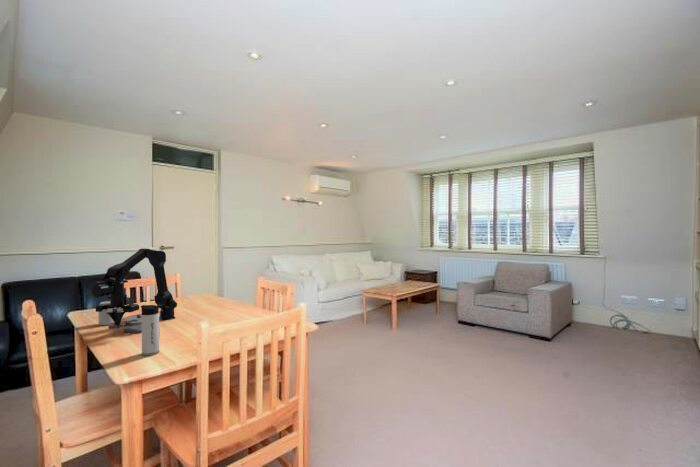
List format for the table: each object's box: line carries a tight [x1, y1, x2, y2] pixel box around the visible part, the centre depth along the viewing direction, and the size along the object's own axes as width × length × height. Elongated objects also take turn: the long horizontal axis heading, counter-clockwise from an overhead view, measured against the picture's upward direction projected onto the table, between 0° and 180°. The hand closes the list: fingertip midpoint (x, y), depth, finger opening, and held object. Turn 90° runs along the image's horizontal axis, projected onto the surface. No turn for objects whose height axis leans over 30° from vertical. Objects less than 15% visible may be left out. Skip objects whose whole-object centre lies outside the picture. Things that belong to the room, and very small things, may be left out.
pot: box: [107, 316, 163, 335], centre depth 173 cm, size 23×14×5 cm, turn 137°
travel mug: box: [140, 304, 160, 357], centre depth 141 cm, size 6×7×20 cm
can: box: [98, 300, 114, 327], centre depth 183 cm, size 8×8×12 cm
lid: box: [109, 313, 142, 326], centre depth 171 cm, size 20×15×2 cm
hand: (118, 325), depth 163 cm, fingers closed
